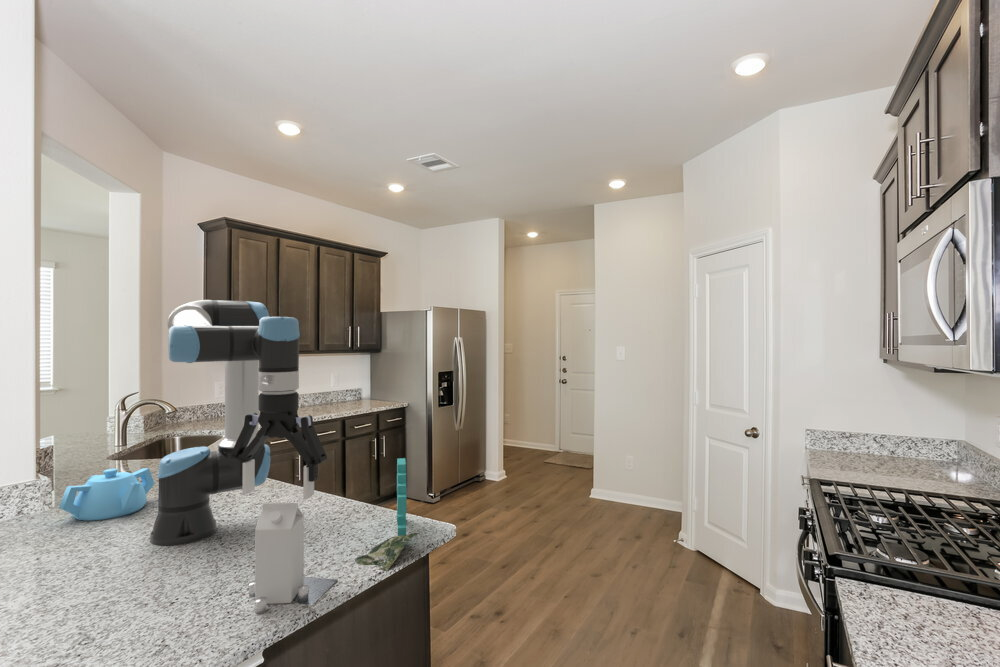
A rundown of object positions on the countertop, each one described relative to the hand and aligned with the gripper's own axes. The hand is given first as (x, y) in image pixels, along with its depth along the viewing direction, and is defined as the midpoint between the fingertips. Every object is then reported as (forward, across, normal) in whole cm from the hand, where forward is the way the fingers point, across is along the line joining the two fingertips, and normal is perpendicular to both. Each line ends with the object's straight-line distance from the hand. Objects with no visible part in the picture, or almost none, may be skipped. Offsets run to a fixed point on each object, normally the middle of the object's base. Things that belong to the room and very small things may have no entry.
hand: (278, 494), depth 98 cm
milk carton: (+21, 0, 0) cm, 21 cm away
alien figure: (+23, +12, +38) cm, 46 cm away
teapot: (+24, -81, +36) cm, 92 cm away
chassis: (+22, 0, 0) cm, 22 cm away
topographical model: (+23, +12, +22) cm, 34 cm away
